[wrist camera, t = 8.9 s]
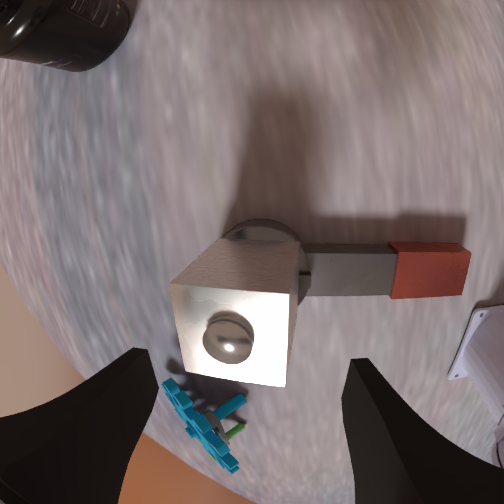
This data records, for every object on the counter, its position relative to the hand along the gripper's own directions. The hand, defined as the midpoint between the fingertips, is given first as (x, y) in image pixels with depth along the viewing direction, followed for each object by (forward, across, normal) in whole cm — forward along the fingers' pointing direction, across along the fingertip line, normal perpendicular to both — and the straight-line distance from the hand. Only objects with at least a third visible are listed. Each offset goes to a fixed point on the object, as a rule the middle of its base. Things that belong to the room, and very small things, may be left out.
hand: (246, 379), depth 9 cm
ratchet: (+10, -6, 0) cm, 12 cm away
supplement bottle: (+11, +12, -18) cm, 24 cm away
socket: (+8, 0, 0) cm, 8 cm away
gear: (+11, +5, +14) cm, 18 cm away
